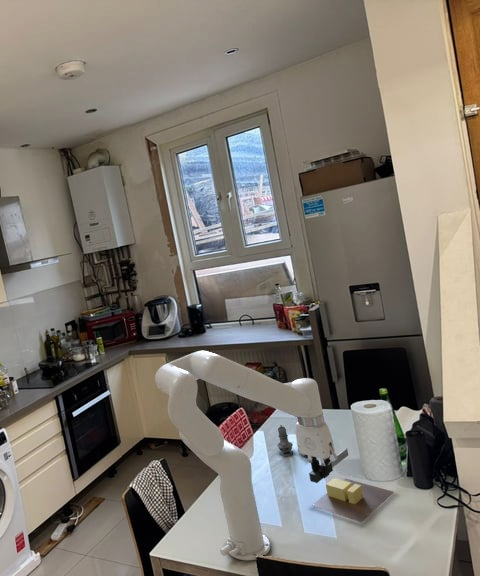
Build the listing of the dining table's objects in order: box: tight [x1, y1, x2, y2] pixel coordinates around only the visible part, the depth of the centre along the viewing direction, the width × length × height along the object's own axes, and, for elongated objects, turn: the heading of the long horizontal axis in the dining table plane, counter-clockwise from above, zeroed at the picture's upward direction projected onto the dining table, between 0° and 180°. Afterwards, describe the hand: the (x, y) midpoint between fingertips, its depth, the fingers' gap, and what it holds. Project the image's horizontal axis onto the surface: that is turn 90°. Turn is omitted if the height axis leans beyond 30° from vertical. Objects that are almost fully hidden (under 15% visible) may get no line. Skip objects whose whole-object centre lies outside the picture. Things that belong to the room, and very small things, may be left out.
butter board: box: [311, 478, 394, 523], centre depth 161 cm, size 20×16×1 cm
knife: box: [308, 448, 349, 484], centre depth 160 cm, size 20×2×3 cm, turn 125°
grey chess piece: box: [276, 424, 294, 457], centre depth 201 cm, size 6×6×12 cm
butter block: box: [325, 477, 352, 501], centre depth 164 cm, size 5×6×4 cm
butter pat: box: [347, 484, 363, 504], centre depth 160 cm, size 5×2×4 cm, turn 124°
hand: (321, 474), depth 157 cm, fingers closed on knife, 2 cm apart
